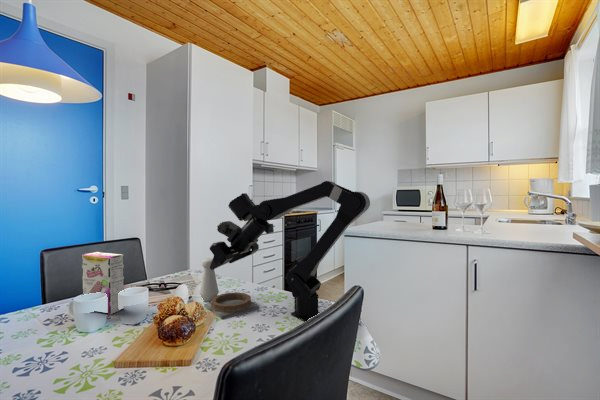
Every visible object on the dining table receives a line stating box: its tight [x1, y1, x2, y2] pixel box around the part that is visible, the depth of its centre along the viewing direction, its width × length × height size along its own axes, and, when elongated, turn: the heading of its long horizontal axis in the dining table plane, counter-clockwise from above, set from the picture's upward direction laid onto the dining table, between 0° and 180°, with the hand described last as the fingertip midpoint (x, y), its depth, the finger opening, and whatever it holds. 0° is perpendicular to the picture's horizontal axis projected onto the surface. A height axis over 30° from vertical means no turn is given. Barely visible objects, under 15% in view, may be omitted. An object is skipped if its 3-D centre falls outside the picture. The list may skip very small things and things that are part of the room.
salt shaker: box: [199, 257, 219, 303], centre depth 96 cm, size 6×6×13 cm
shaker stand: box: [203, 292, 260, 320], centre depth 89 cm, size 12×12×3 cm
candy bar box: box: [81, 251, 125, 316], centre depth 87 cm, size 11×5×16 cm, turn 71°
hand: (220, 265), depth 94 cm, fingers open, 9 cm apart
